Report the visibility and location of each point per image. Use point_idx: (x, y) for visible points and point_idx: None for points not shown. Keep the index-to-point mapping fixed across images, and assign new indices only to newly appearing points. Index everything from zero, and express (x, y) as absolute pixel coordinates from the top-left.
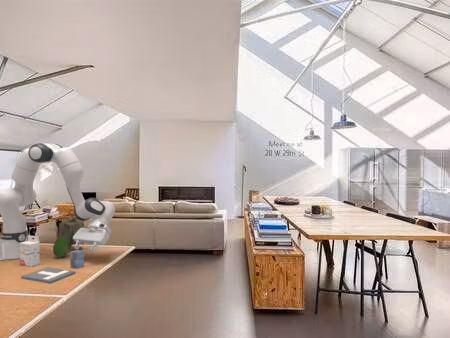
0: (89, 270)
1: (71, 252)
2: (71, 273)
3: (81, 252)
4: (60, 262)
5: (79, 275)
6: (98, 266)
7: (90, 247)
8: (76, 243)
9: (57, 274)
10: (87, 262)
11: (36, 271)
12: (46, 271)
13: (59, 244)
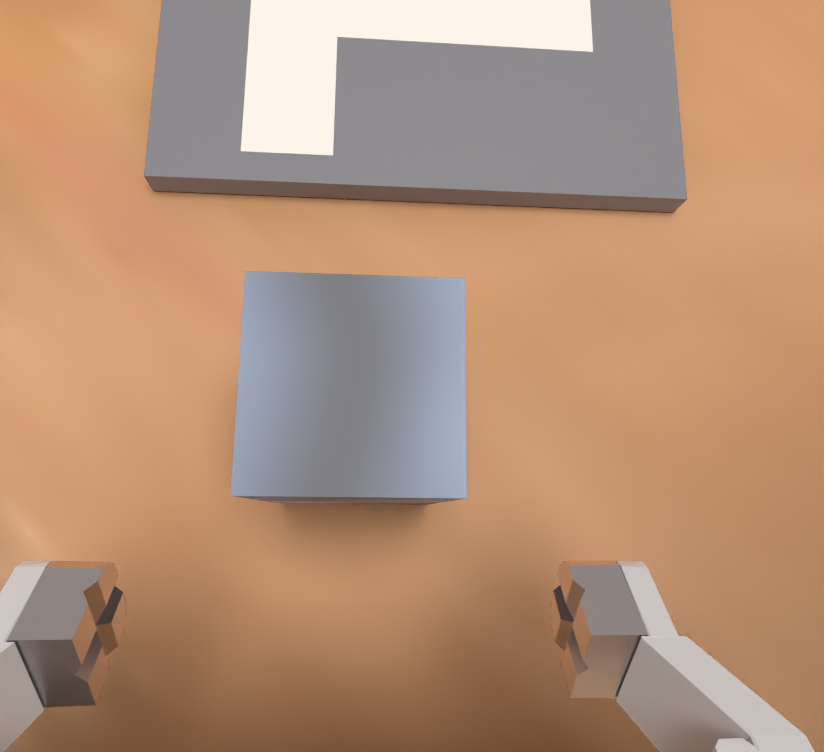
0: (40, 356)
1: (433, 280)
2: (153, 109)
3: (239, 403)
4: (790, 517)
5: (39, 143)
6: None
7: (46, 606)
8: (708, 673)
9: (287, 6)
10: (373, 693)
11: (649, 21)
12: (529, 55)
13: None
